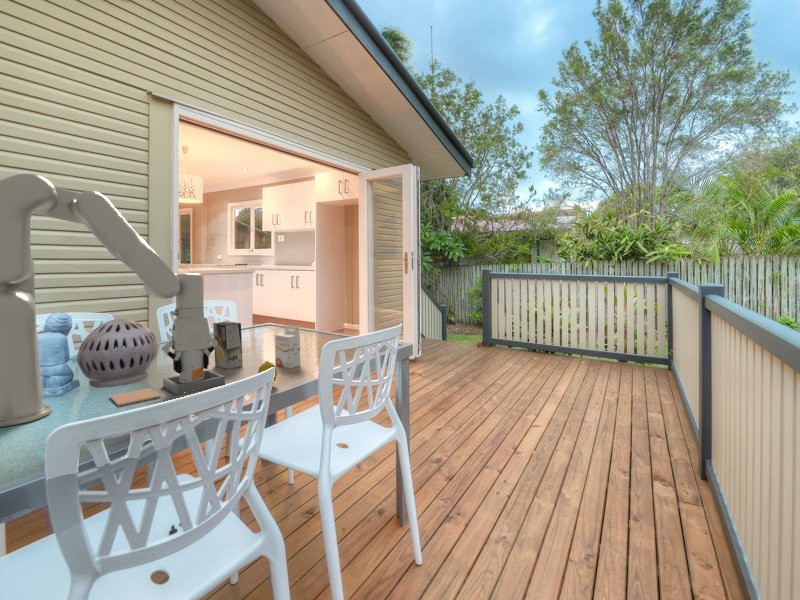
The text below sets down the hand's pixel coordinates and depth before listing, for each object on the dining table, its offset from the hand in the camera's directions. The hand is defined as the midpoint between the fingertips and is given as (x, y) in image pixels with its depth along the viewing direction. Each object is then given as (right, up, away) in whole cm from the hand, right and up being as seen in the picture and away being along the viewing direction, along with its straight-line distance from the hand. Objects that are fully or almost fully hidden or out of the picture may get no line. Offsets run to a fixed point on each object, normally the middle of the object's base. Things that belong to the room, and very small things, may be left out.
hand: (191, 369), depth 126 cm
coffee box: (+1, -3, +25) cm, 25 cm away
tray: (0, -5, +1) cm, 5 cm away
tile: (-10, -6, -11) cm, 16 cm away
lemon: (+24, -5, 0) cm, 24 cm away
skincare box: (0, -4, 0) cm, 4 cm away
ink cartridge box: (+23, -3, +25) cm, 34 cm away
